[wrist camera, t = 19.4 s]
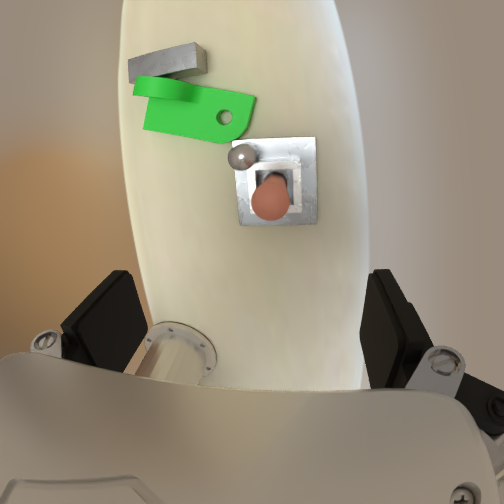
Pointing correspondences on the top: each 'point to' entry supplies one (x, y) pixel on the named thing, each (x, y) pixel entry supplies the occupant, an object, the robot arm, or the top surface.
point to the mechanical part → (193, 109)
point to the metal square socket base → (281, 160)
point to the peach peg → (271, 197)
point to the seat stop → (169, 63)
